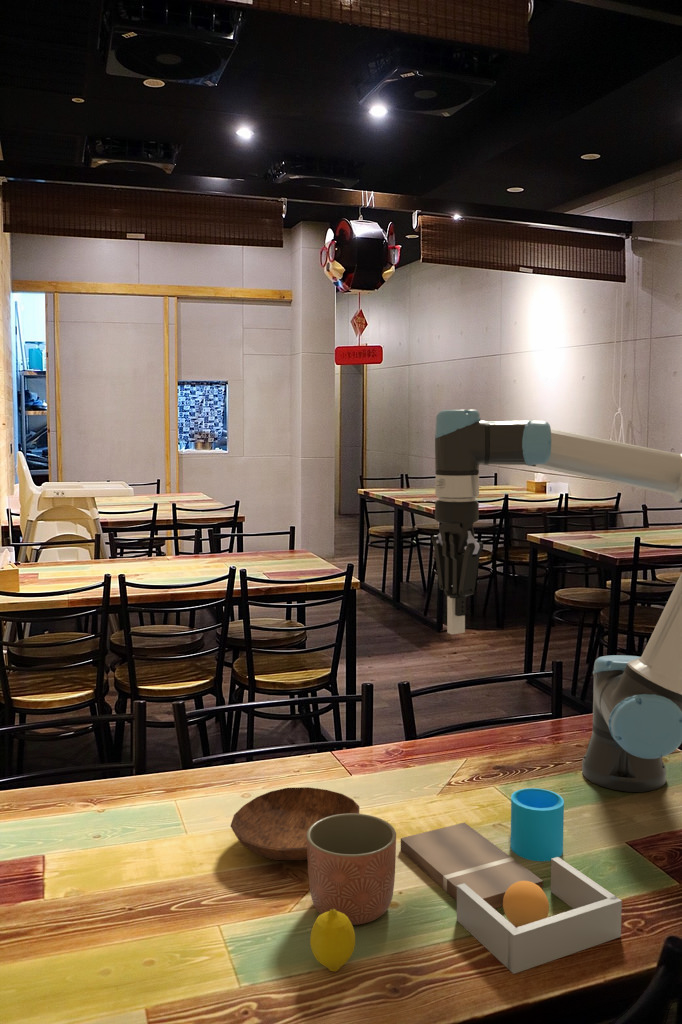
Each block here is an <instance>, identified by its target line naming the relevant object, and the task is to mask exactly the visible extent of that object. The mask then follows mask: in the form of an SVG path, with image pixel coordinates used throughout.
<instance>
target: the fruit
mask: <svg viewBox="0 0 682 1024" xmlns="http://www.w3.org/2000/svg"><path fill="white" fill-rule="evenodd" d="M309 939H310V940H309V943H310V948H311V952H312V954H313V956H314V958H315V959H316V961H317V962H318V963H320V964H321V965H322V966H323V967H324V968H325V967H326V968H327V969H328V970H329V971H331V972H337V971H339V970H340V969H341V967H342V966H344V965H345V964H347V962H348V961H349V960H350V958H351V957H352V955H353V952H354V951H355V948H356V933H355V928H354V925H352V924H351V922H350V920H349V918H348V917H347V916H346V915H345V914H343V913H341V912H338V911H336V910H335V909H334V908H332V909H331V910H330V911H328V912H325V913H323V914H319V915H318V917H317V918H316V919H315V921H314V923H313V926H312V927H311V931H310V938H309Z"/></svg>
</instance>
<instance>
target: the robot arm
mask: <svg viewBox="0 0 682 1024" xmlns="http://www.w3.org/2000/svg"><path fill="white" fill-rule="evenodd" d="M434 432H435V434H434V457H435V458H434V460H435V462H434V464H435V467H434V468H435V471H434V473H435V482H434V485H435V491H434V493H435V497H436V498H438V500H436V501H435V502H434V508H435V509H434V520H435V521H436V522H437V523H440V527H439V533H438V534H437V535H435V534H434V535H432V536H431V543H432V545H433V548H434V555H435V564H436V571H437V578H438V579H437V581H438V586H439V587H438V588H439V590H441V591H444V594H445V596H446V612H447V613H446V614H447V616H446V617H447V620H446V621H447V624H446V627H447V629H446V631H447V634H450V635H459V634H465V633H466V613H467V609H466V608H467V606H466V605H467V602H466V601H467V597H468V596H472V595H475V590H476V589H475V588H476V584H477V583H476V582H477V578H478V569H479V562H480V559H481V558H480V557H481V553H482V551H483V550H484V543H483V542H478V541H477V540H476V539H475V530H474V523H477V522H478V521H479V518H480V517H479V516H480V514H479V513H480V512H479V510H480V507H479V506H480V505H479V503H480V502H478V500H476V499H477V498H479V496H480V469H479V468H480V465H482V466H483V465H485V466H486V465H487V466H488V465H495V466H496V465H497V466H498V465H502V466H504V465H505V466H507V465H508V466H512V465H513V466H528V467H535V468H539V469H545V470H548V471H552V472H553V471H554V472H558V473H563V474H567V475H573V476H578V477H582V478H588V479H593V480H597V481H601V482H602V481H603V482H605V483H606V482H607V483H610V484H617V485H620V486H626V487H631V488H635V489H641V490H645V491H651V492H654V493H660V494H665V495H669V496H670V497H671V498H672V500H673V501H674V502H676V503H680V504H682V453H676V452H672V451H668V450H667V451H666V450H660V449H658V448H657V449H655V448H651V447H646V446H640V445H635V444H631V443H626V442H622V441H621V442H620V441H615V440H611V439H604V438H600V437H595V436H590V435H585V434H580V433H576V432H575V433H574V432H571V431H570V432H569V431H565V430H560V429H555V428H551V425H550V423H549V422H547V421H546V420H534V419H529V420H511V419H509V420H499V421H498V420H497V421H496V420H495V421H491V420H490V421H489V420H488V421H487V420H481V417H480V412H479V410H477V409H443V410H440V411H439V412H438V413H437V414H436V417H435V431H434ZM667 600H668V601H667V602H666V603H665V606H664V609H663V610H662V612H661V615H660V616H659V619H658V621H657V623H656V625H655V627H654V630H653V631H652V633H651V636H650V638H649V640H648V642H647V644H646V645H645V648H644V649H643V652H642V654H641V656H637V655H626V654H625V655H623V654H622V655H621V654H620V655H617V654H616V655H615V654H613V655H604V656H599V657H598V658H596V659H595V661H594V665H593V671H592V675H593V687H592V688H593V690H592V693H593V695H592V697H593V698H592V700H593V701H592V733H591V736H590V738H589V741H588V745H587V748H586V753H585V754H584V755H583V757H582V762H581V763H582V764H581V765H582V767H581V769H582V770H581V773H582V775H583V776H584V777H585V779H587V780H588V781H589V782H591V783H592V784H595V785H598V786H600V787H603V788H606V789H610V790H614V791H620V792H630V793H643V792H645V793H646V792H650V791H651V792H652V791H655V790H658V789H660V788H662V787H663V786H665V784H666V782H667V769H666V765H665V764H664V762H663V757H666V756H667V757H668V756H669V755H670V754H672V753H673V752H675V751H676V750H677V749H678V748H679V747H680V746H681V744H682V572H681V573H680V575H679V577H678V579H677V581H676V583H675V586H674V588H673V590H672V592H671V594H670V596H669V598H668V599H667Z"/></svg>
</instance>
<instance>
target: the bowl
mask: <svg viewBox="0 0 682 1024" xmlns="http://www.w3.org/2000/svg"><path fill="white" fill-rule="evenodd" d="M347 813H356V814H360V805H359V804H358V803H357V802H356V801H355V800H354V799H353V798H351V797H349V796H347V795H345V794H344V793H340V792H337V791H332V790H329V789H323V788H318V787H316V788H315V787H307V786H306V787H305V786H304V787H284V788H280V789H276V790H272V791H269V792H266V793H263V794H261V795H259V796H256V797H255V798H253V799H252V800H250V801H248V802H247V803H245V804H244V805H242V807H240V809H238V810H237V812H235V813H234V814H233V817H232V820H231V823H230V828H231V830H232V831H233V833H234V835H235V836H236V838H237V840H238V841H239V843H240V845H242V846H243V847H244V848H247V849H248V850H249V851H252V852H253V853H255V854H256V855H258V856H260V857H264V858H267V859H271V860H274V861H305V860H308V858H307V836H306V835H307V831H308V829H309V828H310V827H311V825H313V824H314V823H315V822H317V821H319V820H321V819H323V818H325V817H329V816H332V815H337V814H347Z"/></svg>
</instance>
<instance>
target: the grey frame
mask: <svg viewBox="0 0 682 1024" xmlns="http://www.w3.org/2000/svg"><path fill="white" fill-rule="evenodd" d="M550 862H551V863H550V864H551V865H550V892H551V894H553V895H554V896H555V897H557V898H559V899H560V900H561V902H563V903H565V904H566V905H568V906H569V907H570V908H572V909H570V910H567V911H563V912H560V913H558V914H554V915H552V916H551V915H550V916H549V917H548V916H547V918H545V919H542V920H538V921H535V922H532V923H529V924H526V925H523V926H520V927H516V926H514V925H513V924H512V923H511V922H510V921H509V920H508V918H505V917H504V915H502V914H501V913H500V912H498V911H497V910H496V909H494V908H493V907H491V906H490V905H489V904H488V903H487V902H486V901H484V900H483V899H482V898H481V897H480V896H479V895H477V894H476V893H475V892H474V891H473V890H472V889H470V888H469V887H468V886H467V885H466V884H465V883H463V884H460V885H457V901H456V921H457V922H458V923H459V924H460V925H461V927H463V929H465V930H466V931H467V932H469V934H470V935H472V936H473V937H474V938H475V940H477V941H478V942H479V943H480V945H482V946H483V947H485V949H486V950H488V952H490V953H491V954H492V955H493V956H494V957H495V959H497V960H498V961H499V962H500V963H501V964H502V965H503V966H504V967H505V968H506V969H508V970H509V971H510V972H511V973H512V974H513V975H515V974H518V973H520V972H524V971H527V970H530V969H532V968H536V967H537V966H538V967H539V966H541V965H544V964H546V963H549V962H552V961H555V960H559V959H560V958H563V957H566V956H569V955H573V954H575V953H578V952H582V951H583V950H587V949H589V948H592V947H596V946H598V945H601V944H604V943H607V942H610V941H612V940H616V939H618V938H622V937H621V936H622V909H623V907H622V906H623V900H622V899H620V898H619V897H617V896H616V895H615V894H613V893H612V892H610V891H608V890H607V889H606V888H604V887H603V886H602V885H600V884H599V883H597V882H595V881H594V880H593V879H591V878H590V877H588V876H587V875H586V874H584V873H583V872H581V871H580V870H578V869H577V868H575V867H573V866H572V865H571V864H569V863H568V862H567V861H565V860H563V859H562V858H561V857H555V858H552V859H551V861H550Z"/></svg>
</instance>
